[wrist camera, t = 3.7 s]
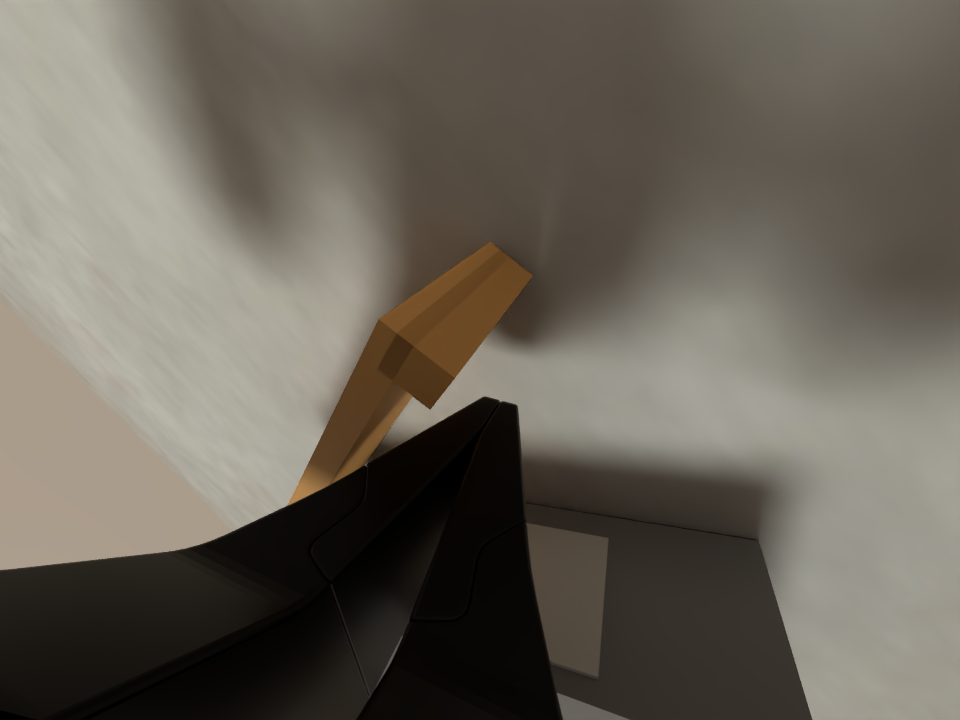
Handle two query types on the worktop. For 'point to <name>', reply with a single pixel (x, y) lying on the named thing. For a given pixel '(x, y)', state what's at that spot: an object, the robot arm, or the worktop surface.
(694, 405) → the worktop surface
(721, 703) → the case
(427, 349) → the brown rectangular block
